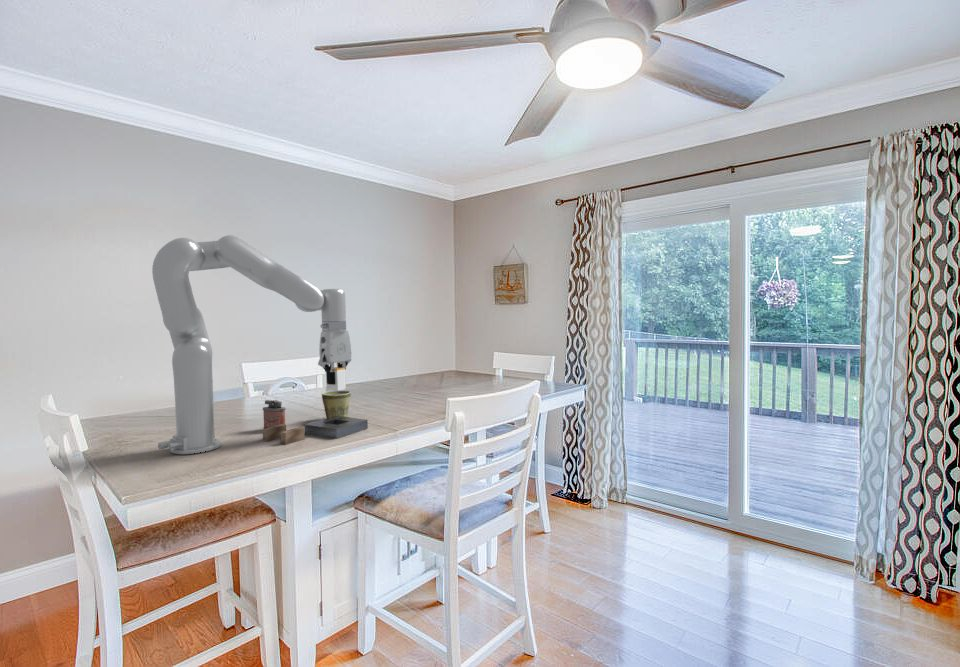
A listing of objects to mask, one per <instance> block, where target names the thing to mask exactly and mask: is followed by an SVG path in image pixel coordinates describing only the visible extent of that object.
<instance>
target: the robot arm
mask: <svg viewBox="0 0 960 667" xmlns="http://www.w3.org/2000/svg"><path fill="white" fill-rule="evenodd" d="M151 268H152V270H151V271H152V279H153V284H154V288H155V289H154V290H155V292H156V297H157V300H158V304H159V308H160V311H161V315H162V322H163V324H164V327H165V328H166V330H168V332H169V336H170V339H171V343H172V345H173V349H174V350H173V352H172V355H171V356H172V360H171V361H172V362H171V363H172V372H173V373H172V374H173V375H172V376H173V390H174V408H175V409H174V410H175V431H176V433H175V435H172V438H171V439H169V440H165V441H162V442H158V443H157V447H158V450H160V451H161V450H163V449H164V450H165V449H170V453H172V454H175V455H194V453H195V454H201V453H206V452H210V451H214V450H216V449H218V448H220V447H221V446H222V441H221V440H220V439H217V438H216V435H215V429H216V428H215V412H214V411H215V408H214V405H215V404H214V382H213V381H214V380H213V348H212V345H211V341H210V338H209V335H208V330H207V327H206V323H205V320H204V316H203V314H202V312H201V310H200V309H199V308H198V306H197V304H196V300H195V297H194V294H193V290H192V285H191V282H190V278H189V274H190V273H189V272H195V271H197V272H198V271H206V270H207V271H208V270H217V269H226V268H231V269H233V270H235V271H236V272H238V273H239V274H241V275H243V276H244V277H246V278H247V279H249V280H251V281H252V282H254V283H255V284H256V285H259V286H260V287H262V288H264V289H267V290H270V291H273V292H275V293H277V294H279V295H280V296H283V297H284V298H286V299H288V300H289V301H290V302H292V303H294V304H295V306H296V307H297V308H298V309H299V310H300V311H301V312H305V313H314V312H316V311H317V312H318V311H321V323H320V328H321V332H320V338H319V360H318V362H317V365H318V366H319V367H321V368H322V369H323V370H324V372H325V373H326V372H327V384H332V385H334V384H335V372H333V371H334V367H335V363H336V367H338V368H345V371H346V369H347V366H348V364H350V362H351V361H352V344H351V337H350V332H349V330H347V315H346V314H347V313H346V312H347V311H346V308H347V307H346V293H345V290H344V289H341V288H325V289H324V288H323V289H319V288H317V287H316V286H314V285H313V284H311V283H310V282H308V281H307V280H305V278H303V277H301V276H300V275H297V274H296V273H294V272H292V271H291V270H289V269H287V268H286V267H285V266H283V265H281V264H279V263H278V262H277V261H274V259H272V258H270V257H268V256H267V255H266V254H265V253H264V254H263V252H261V251H260V250H257V249H256V248H255V247H254V246H252V245H250V244H249V243H248V242H246V241H244V240H243V239H241V238H239V237H238V236H234V235H229V234H228V235H224V236H222V237H220V238H219V239H218V240H211V241H195V240H193V239H191V238H188V237H179V238H175V239H172V240H170V241H168V242H167V243H166V244H164V245H163V246H162V247H161V248H160V249H159V250H158V251H157V253H156V255H155V256H154V259H153V263H152V267H151ZM205 451H206V452H205ZM200 452H201V453H200Z"/></svg>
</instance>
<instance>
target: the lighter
mask: <svg viewBox="0 0 960 667" xmlns="http://www.w3.org/2000/svg"><path fill="white" fill-rule="evenodd" d="M264 405H267V406H263V407H262V412H263V429H265V428H269V427H273V426H277V425H281V424H284V425H286V407H284V406H283V402H282V401H279V400H278V399H274V400H271V399H266V400H264ZM263 429H262V430H263Z"/></svg>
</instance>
